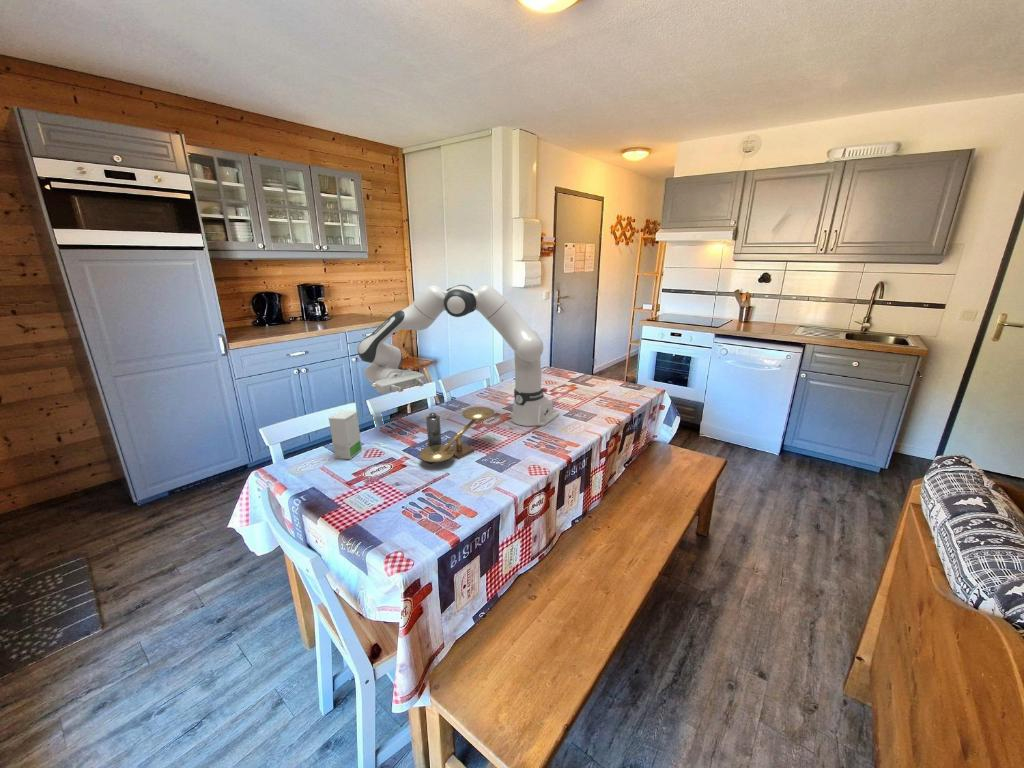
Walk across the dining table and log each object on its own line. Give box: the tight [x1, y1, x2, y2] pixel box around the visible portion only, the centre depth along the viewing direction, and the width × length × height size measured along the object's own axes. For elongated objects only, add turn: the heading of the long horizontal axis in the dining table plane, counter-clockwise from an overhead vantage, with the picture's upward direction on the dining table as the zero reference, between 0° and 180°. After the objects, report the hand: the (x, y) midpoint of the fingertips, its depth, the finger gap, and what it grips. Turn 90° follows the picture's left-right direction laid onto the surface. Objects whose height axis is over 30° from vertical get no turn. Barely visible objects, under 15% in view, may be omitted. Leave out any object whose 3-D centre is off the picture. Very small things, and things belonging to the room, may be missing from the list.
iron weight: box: [425, 412, 442, 447], centre depth 154 cm, size 5×5×12 cm
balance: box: [418, 406, 495, 463], centre depth 148 cm, size 32×12×13 cm, turn 138°
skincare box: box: [328, 410, 363, 460], centre depth 146 cm, size 8×7×16 cm
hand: (412, 386), depth 157 cm, fingers open, 8 cm apart
